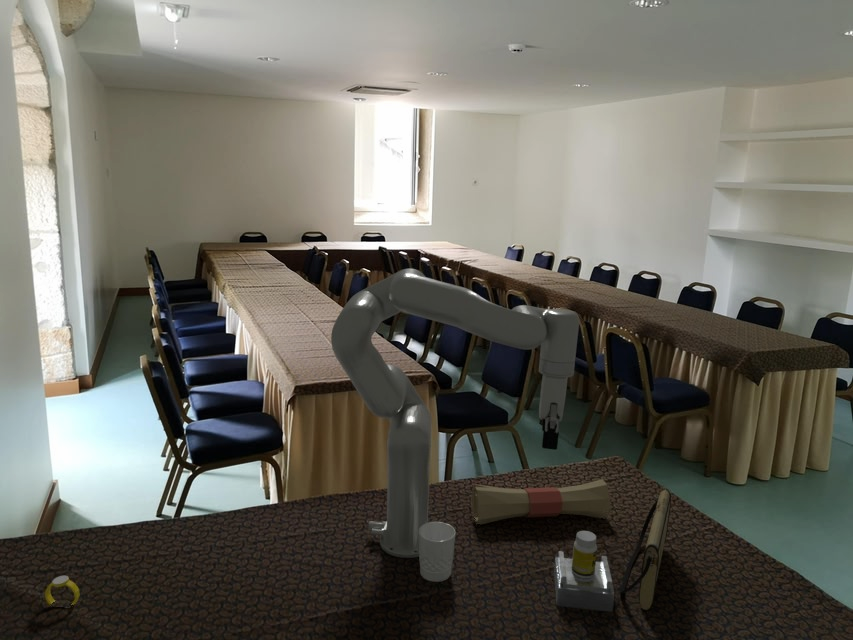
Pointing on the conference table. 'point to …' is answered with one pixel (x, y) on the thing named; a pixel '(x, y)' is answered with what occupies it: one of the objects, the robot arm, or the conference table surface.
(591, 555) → the supplement bottle
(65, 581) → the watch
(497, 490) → the scroll
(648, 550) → the beige handbag
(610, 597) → the grey drawer with knob
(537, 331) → the robot arm
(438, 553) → the white cup
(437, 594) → the conference table surface
